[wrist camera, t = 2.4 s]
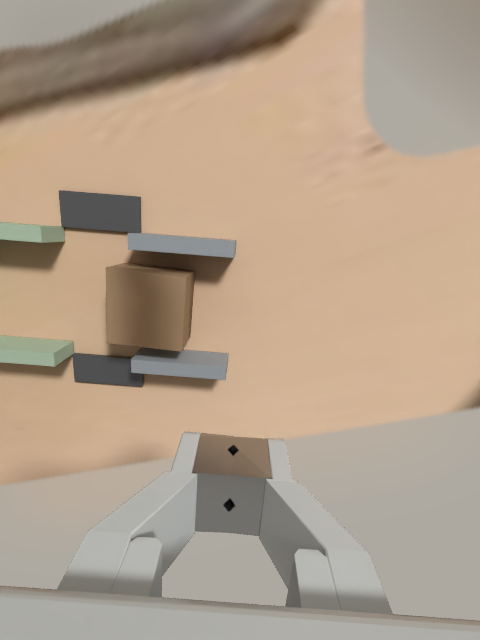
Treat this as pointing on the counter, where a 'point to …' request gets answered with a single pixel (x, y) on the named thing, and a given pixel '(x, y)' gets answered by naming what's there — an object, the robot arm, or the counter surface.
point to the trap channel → (127, 218)
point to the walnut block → (149, 306)
